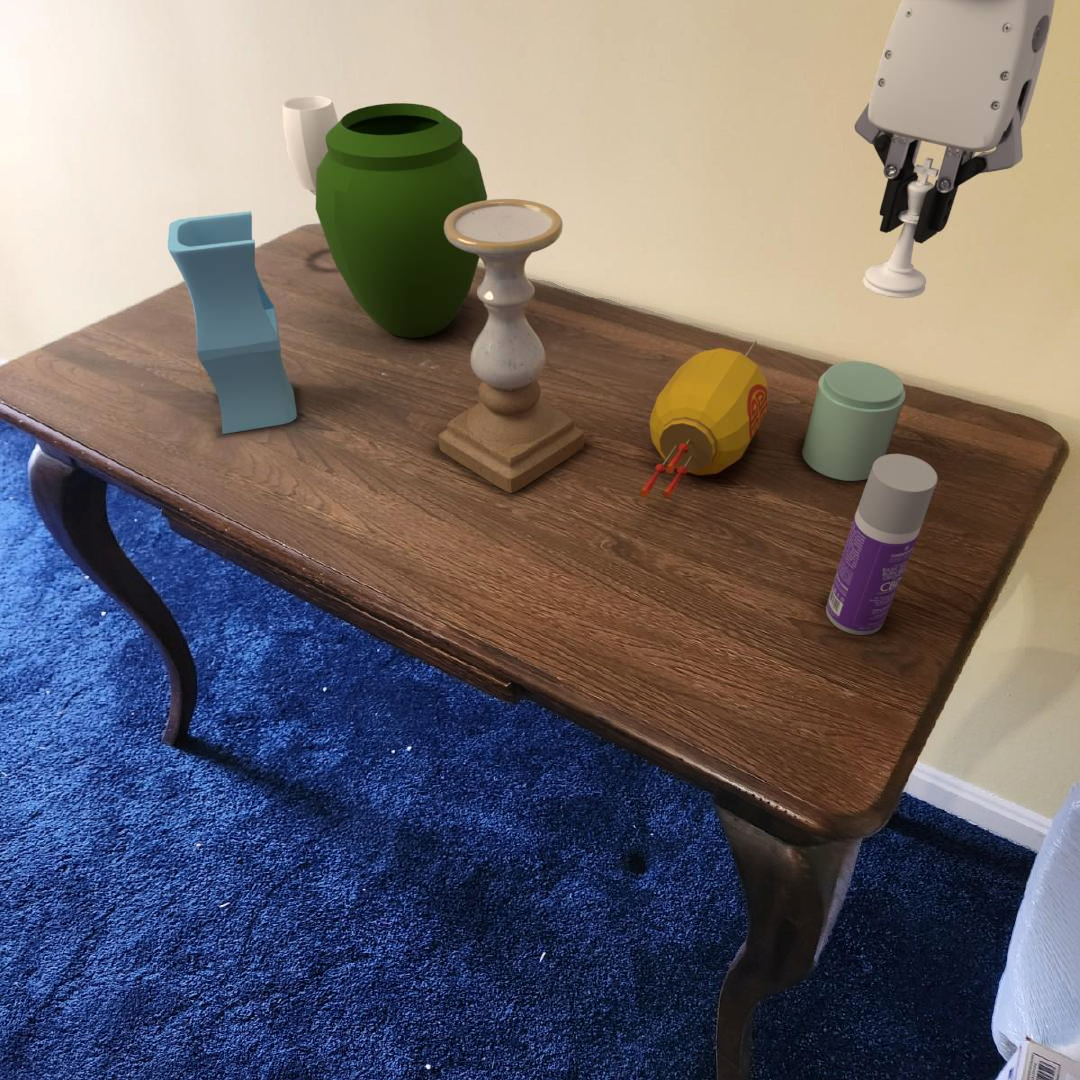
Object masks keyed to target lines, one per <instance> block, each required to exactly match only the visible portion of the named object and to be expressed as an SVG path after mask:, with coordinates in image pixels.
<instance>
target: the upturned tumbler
mask: <svg viewBox="0 0 1080 1080" xmlns="http://www.w3.org/2000/svg"><path fill="white" fill-rule="evenodd" d="M905 399H906V390H905V387H904V383H903V381H902V379H901V378H900V377H899V375H898V374H896V373H895V372H894V371H892V370H890V369H889V368H886V367H884V366H882V365H879V364H877V363H872V362H867V361H857V360H853V361H842V362H838V363H835V364H833V365H831V366H830V367H829V368H827V369H826V371H825V372H824V373H823V374H822V375H821V376H820V377H819V379H818V383H817V387H816V391H815V395H814V400H813V404H812V408H811V410H810V416H809V420H808V424H807V428H806V432H805V436H804V440H803V444H802V448H801V454H802V457H803V460H804V461H805V462H806V464H807V465H808V466H809V467H810V468H812V469H813V470H814V471H815V472H817V473H819V474H821V475H823V476H825V477H829V478H831V479H835V480H840V481H847V482H856V481H857V482H858V481H859V482H860V481H864V480H868V478H869V475H870V472H871V469H872V466H873V464H874V462H875V461H876V460H877V459H878V458H879V457H881V456H884V455H888V451H889V448H890V446H891V442H892V439H893V436H894V433H895V431H896V430H895V429H896V426H897V423H898V421H899V417H900V415H901V411H902V409H903V405H904V403H905Z"/></svg>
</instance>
